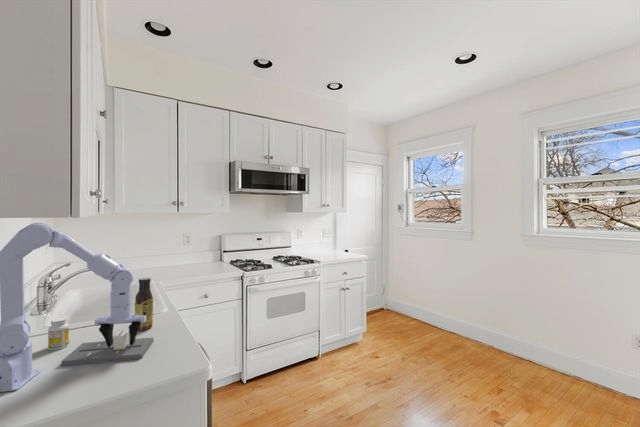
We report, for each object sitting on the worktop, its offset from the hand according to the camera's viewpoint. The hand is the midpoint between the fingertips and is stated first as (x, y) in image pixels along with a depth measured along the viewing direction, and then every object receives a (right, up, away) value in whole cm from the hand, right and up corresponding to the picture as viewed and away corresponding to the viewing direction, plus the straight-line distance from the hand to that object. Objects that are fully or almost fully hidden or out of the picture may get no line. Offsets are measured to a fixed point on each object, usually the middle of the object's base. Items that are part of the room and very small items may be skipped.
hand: (121, 344), depth 100 cm
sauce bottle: (-3, -2, +19) cm, 19 cm away
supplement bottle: (-23, -2, +3) cm, 24 cm away
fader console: (-3, -2, -1) cm, 4 cm away
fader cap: (0, -1, 0) cm, 1 cm away
